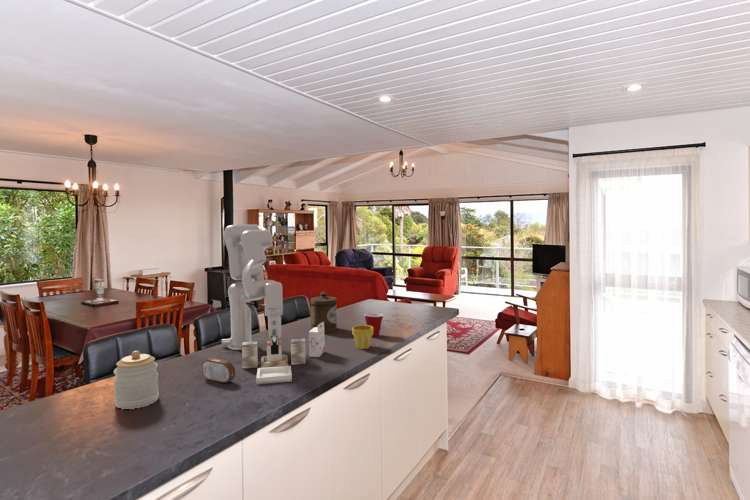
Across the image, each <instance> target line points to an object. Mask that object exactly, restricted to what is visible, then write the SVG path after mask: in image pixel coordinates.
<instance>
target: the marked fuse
mask: <svg viewBox="0 0 750 500" xmlns="http://www.w3.org/2000/svg"><path fill="white" fill-rule="evenodd" d="M278 344H279V354H273V355H271V340H266V356H267V362H273V361H282V355H283V354H282V351H283V349H282V339H278ZM272 345H273V344H272Z"/></svg>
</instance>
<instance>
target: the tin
mask: <svg viewBox="0 0 750 500" xmlns="http://www.w3.org/2000/svg"><path fill="white" fill-rule="evenodd" d="M201 370H202V374H203V376H204V378H206V379H207V380H209V381H213V382H218V383H220V384H221V383H222V384H227V383H229V382H231V381H233V380H234V379H235V377H236V369H235V367H234V365H233V363H232V362H231V361H229V360H228V359H224V358H223V359H222V358H217V357H213V356H212V357H208V359H205V360H204V361H203V362H202V364H201Z"/></svg>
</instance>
